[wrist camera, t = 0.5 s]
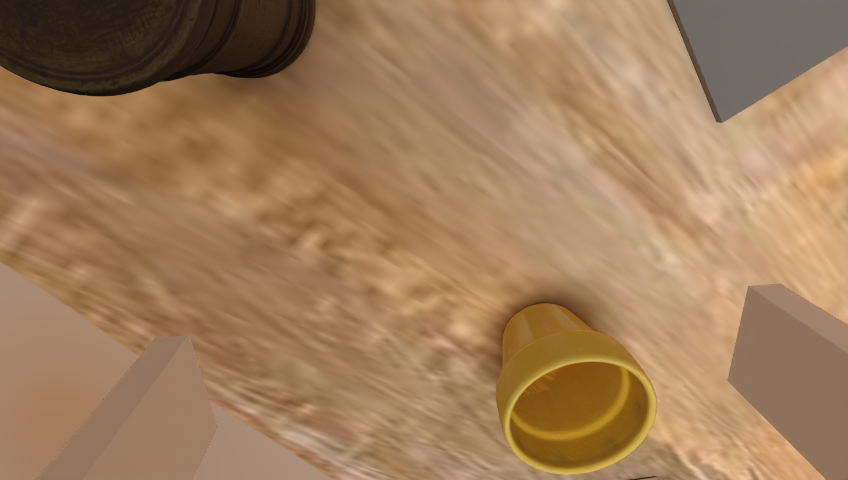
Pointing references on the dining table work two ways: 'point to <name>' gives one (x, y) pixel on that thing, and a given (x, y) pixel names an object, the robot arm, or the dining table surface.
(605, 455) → the plant pot
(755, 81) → the mat
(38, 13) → the container
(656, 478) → the supplement box
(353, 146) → the dining table surface
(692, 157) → the dining table surface
